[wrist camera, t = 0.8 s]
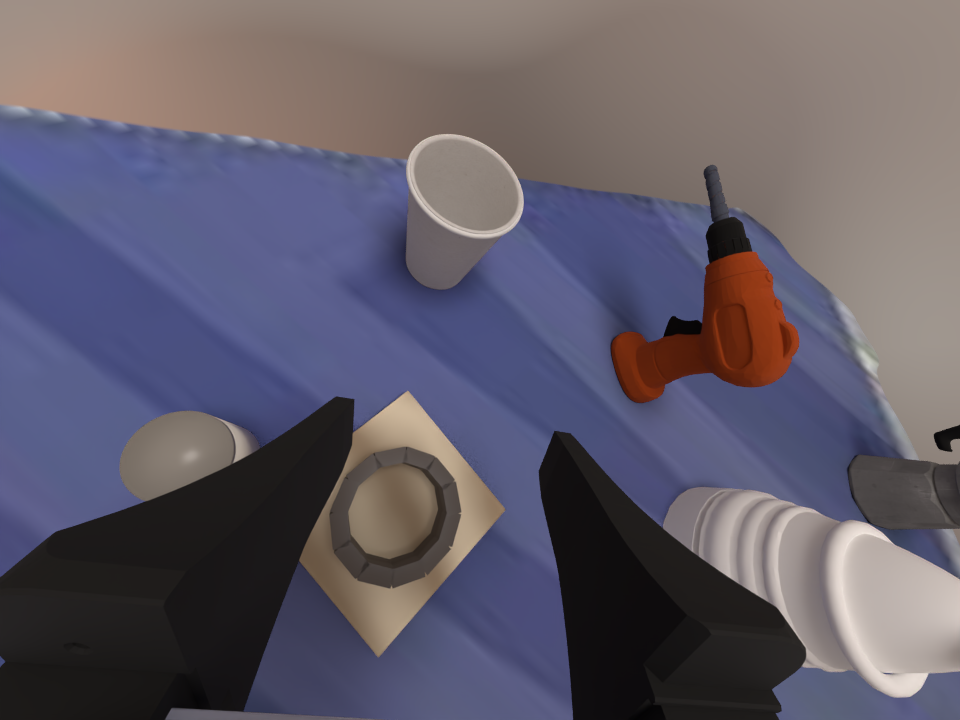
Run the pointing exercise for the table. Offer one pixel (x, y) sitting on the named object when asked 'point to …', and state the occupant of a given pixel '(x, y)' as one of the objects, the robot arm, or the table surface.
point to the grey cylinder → (181, 452)
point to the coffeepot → (908, 489)
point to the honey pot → (830, 584)
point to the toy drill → (716, 321)
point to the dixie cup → (456, 207)
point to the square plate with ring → (396, 522)
